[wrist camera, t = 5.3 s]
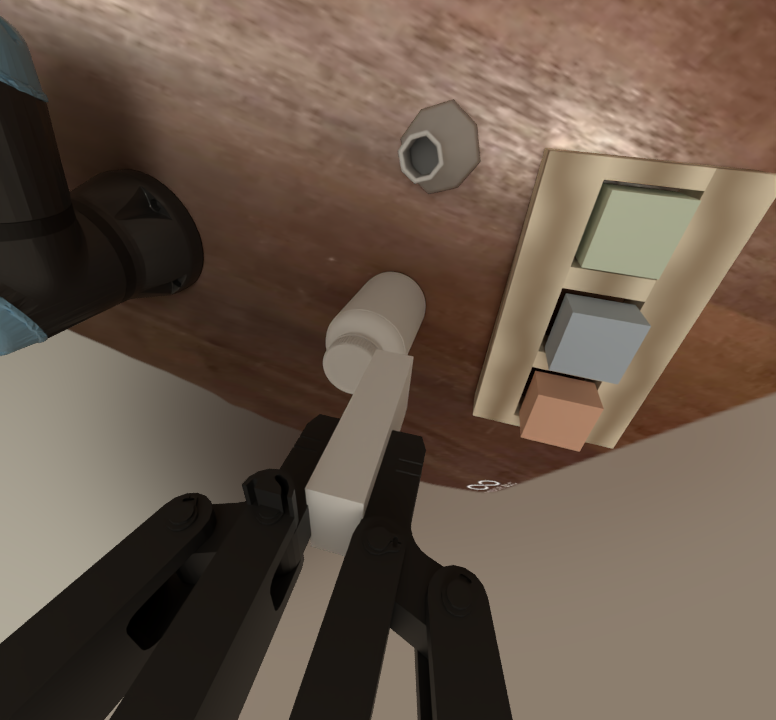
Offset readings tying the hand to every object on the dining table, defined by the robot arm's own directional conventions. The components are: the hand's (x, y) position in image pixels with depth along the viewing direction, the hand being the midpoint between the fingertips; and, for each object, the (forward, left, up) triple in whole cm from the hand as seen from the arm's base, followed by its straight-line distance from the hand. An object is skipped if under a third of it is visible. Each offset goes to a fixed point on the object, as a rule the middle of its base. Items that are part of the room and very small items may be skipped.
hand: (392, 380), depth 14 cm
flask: (-3, +6, -27) cm, 28 cm away
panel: (+14, -7, -27) cm, 31 cm away
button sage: (+14, +3, -26) cm, 29 cm away
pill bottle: (-6, -9, -27) cm, 29 cm away
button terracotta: (+14, -15, -23) cm, 31 cm away
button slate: (+14, -7, -23) cm, 28 cm away
